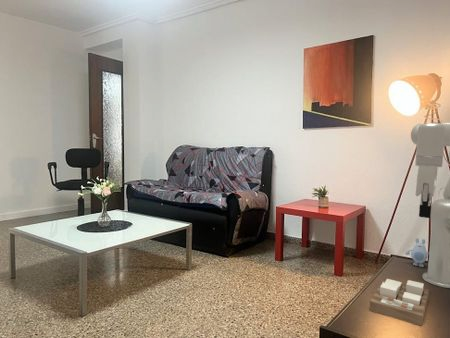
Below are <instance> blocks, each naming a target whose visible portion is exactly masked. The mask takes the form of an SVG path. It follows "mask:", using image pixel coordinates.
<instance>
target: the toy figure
mask: <svg viewBox="0 0 450 338" xmlns="http://www.w3.org/2000/svg"><path fill="white" fill-rule="evenodd" d="M414 241H415V245H414V246H413V248H411V249H409V250H406V251H405V255H410V256H411V259H412V260H413V261H414V262H413V263H412V265H413V266H414V265H415V266H414V267H417V266H418V267H420V268H424V264H423V263H425V262H426V261H427V260H428V258H429V251H428V250H427V249H426V245H425V243H426V239H425V238H422V239H421V242H420V239H419V237H417V238H415V240H414ZM410 252H411V253H410Z"/></svg>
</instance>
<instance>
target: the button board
mask: <svg viewBox="0 0 450 338" xmlns="http://www.w3.org/2000/svg"><path fill="white" fill-rule="evenodd" d="M387 279H388V278H383V280H382V281H381V282H380V284H379V286H378V287H377V289H376V291H375V293H374V294H373V296H372V297H371V299H370V300H369V311H370V312H374V313H377V314H381V315H383V316H387V317H391V318H394V319H397V320H400V321H404V322H407V323H411V324H413V325H418V326H421V327H422V326H423V321H424V318H425V313H426V308H427V305H428V301H429V293H430V292H429V291H430V290H429V289H427V288H424V287H423V294H422V296H421V302H420V306H418V305H414V304H411V303H407V302H403V301H402V298H403V295H404V292H406V284H407V283H403V282H402V284H401V290H400V291H399V290H398V295H397V297H396V299H392V298H389V297H385V296H381V295H380V286H381V285H382V283H383V282H384V283H385V281H386V280H387Z"/></svg>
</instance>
